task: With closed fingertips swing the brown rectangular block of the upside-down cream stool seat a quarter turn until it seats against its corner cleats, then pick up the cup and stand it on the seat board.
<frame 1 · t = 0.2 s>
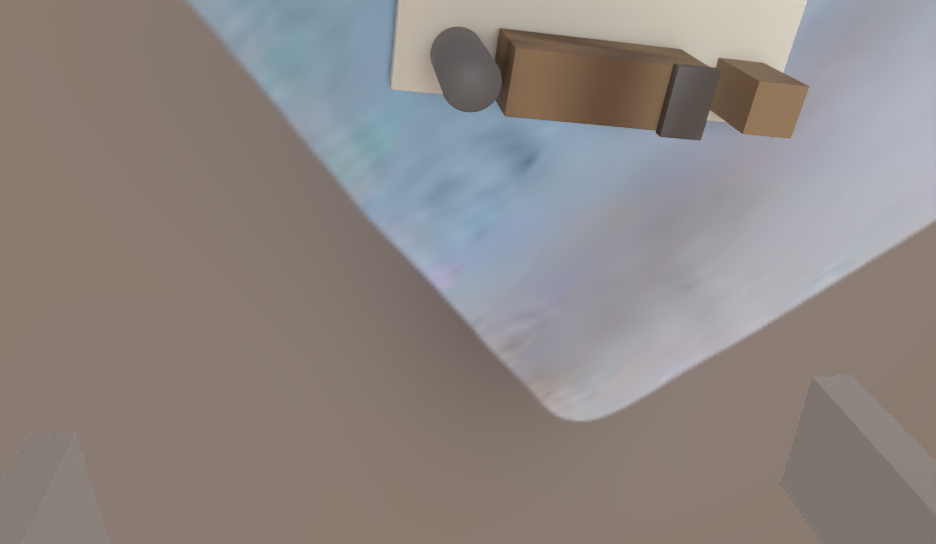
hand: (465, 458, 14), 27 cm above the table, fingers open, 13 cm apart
brown rectangular block: (599, 82, 35), point 4 cm above the table, hinge at 0.0°
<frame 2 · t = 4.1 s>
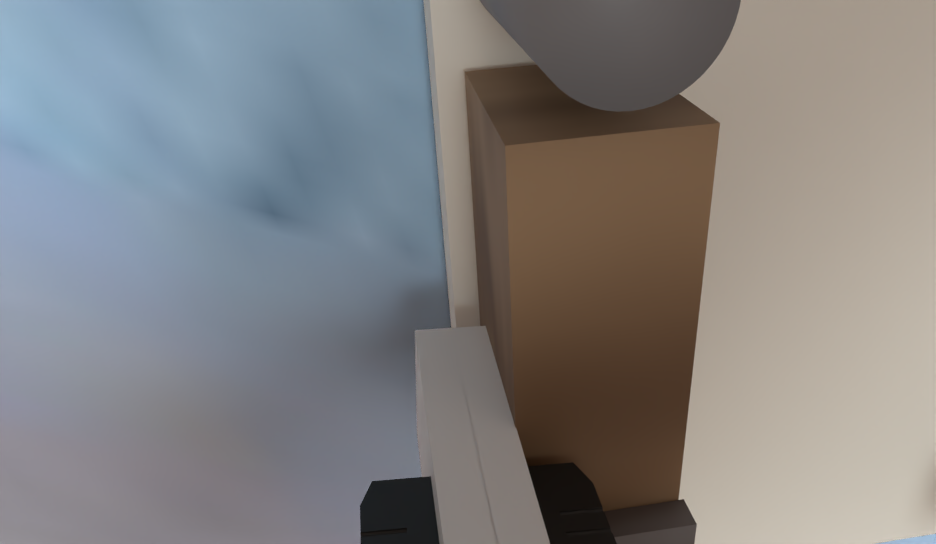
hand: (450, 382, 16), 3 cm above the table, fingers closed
brown rectangular block: (576, 342, 14), point 4 cm above the table, hinge at 0.0°, touching gripper
seat board: (790, 234, 18), on the table
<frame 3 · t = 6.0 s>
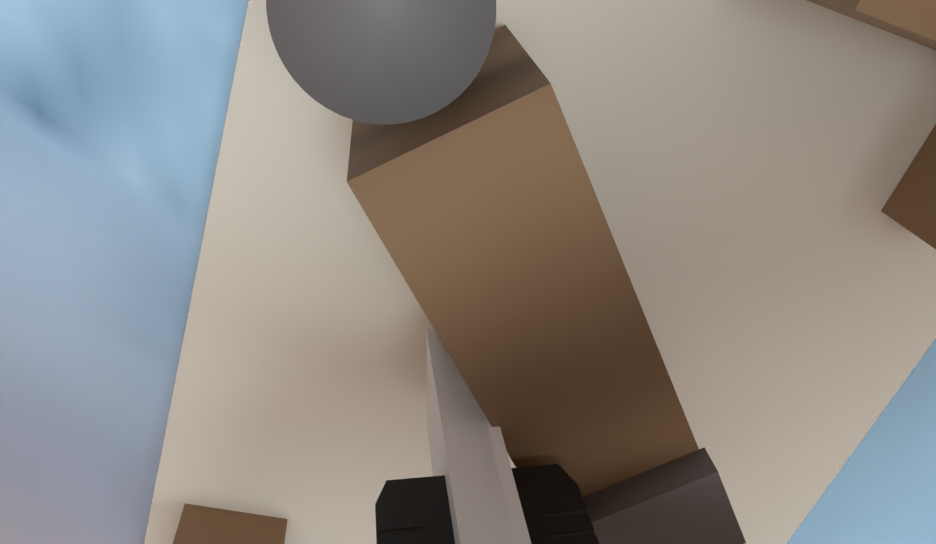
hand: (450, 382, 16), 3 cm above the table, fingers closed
brown rectangular block: (548, 322, 14), point 4 cm above the table, hinge at 43.5°, touching gripper
seat board: (558, 328, 19), on the table
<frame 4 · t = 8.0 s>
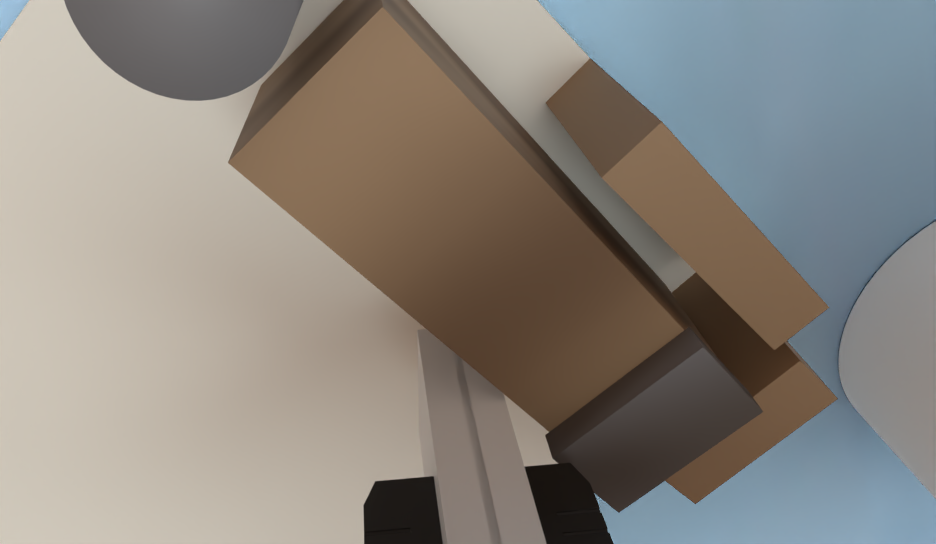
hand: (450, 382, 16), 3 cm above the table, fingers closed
brown rectangular block: (503, 245, 13), point 4 cm above the table, hinge at 86.8°, touching gripper
seat board: (290, 351, 19), on the table
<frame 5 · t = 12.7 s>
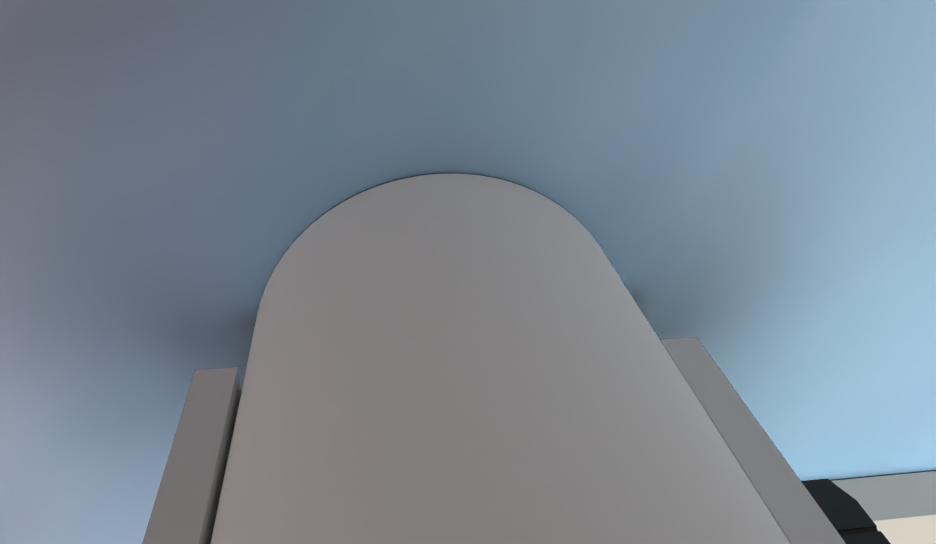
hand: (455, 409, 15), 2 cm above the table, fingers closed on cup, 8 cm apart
cup: (442, 338, 17), on the table, touching gripper
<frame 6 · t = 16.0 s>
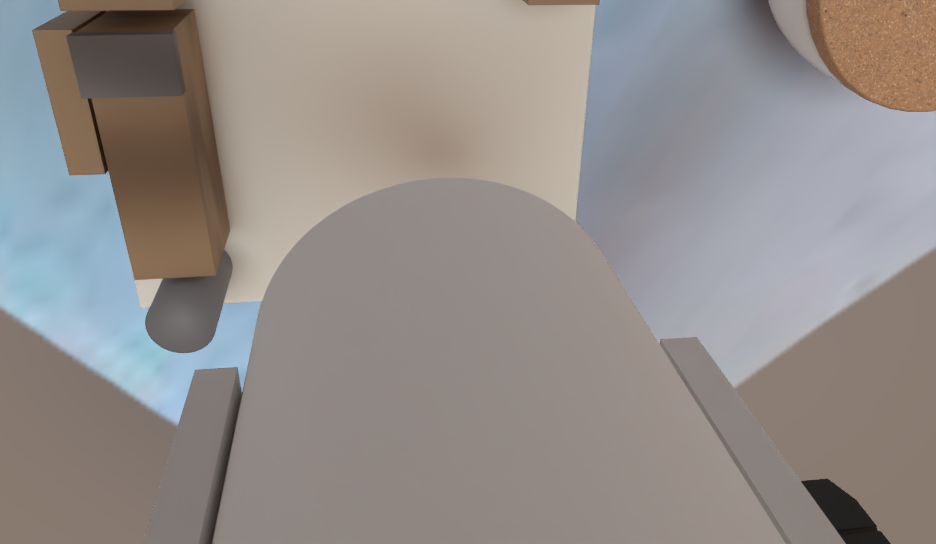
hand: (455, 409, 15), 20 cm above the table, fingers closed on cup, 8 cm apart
brown rectangular block: (162, 148, 28), point 4 cm above the table, hinge at 90.5°
cup: (442, 342, 17), point 18 cm above the table, touching gripper
seat board: (352, 109, 32), on the table
when the fingers open (5 cm above the table, at t = 19.1 s): cup drops 1 cm, resting on seat board.
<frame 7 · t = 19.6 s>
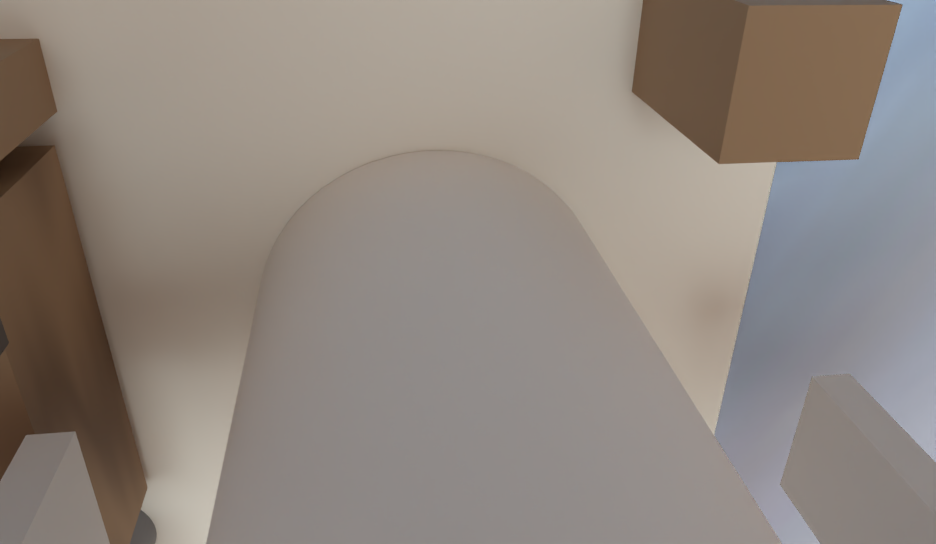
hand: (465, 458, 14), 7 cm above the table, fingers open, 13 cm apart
cup: (432, 306, 18), point 1 cm above the table, touching seat board
seat board: (353, 283, 19), on the table
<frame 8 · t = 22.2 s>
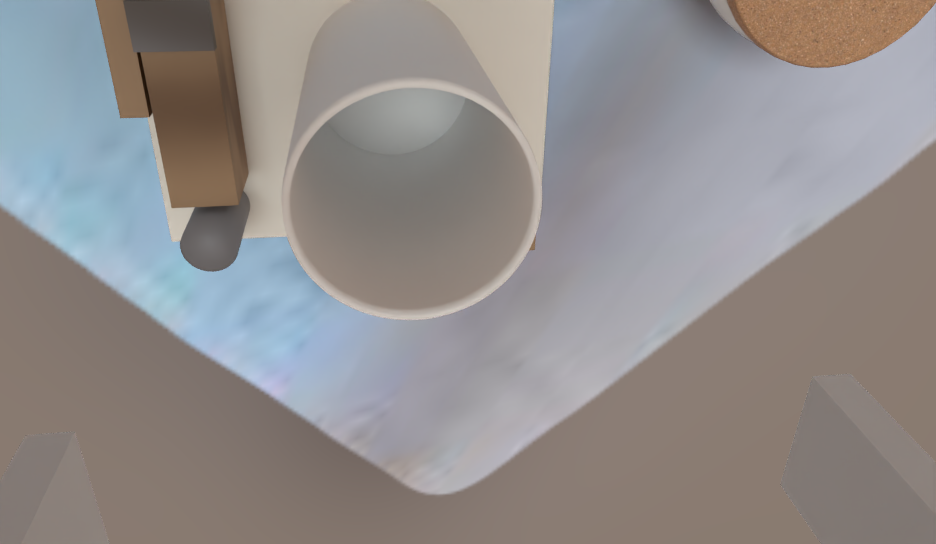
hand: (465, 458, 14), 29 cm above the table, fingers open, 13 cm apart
brown rectangular block: (195, 98, 34), point 4 cm above the table, hinge at 90.5°
cup: (390, 77, 37), point 1 cm above the table, touching seat board
seat board: (351, 71, 38), on the table
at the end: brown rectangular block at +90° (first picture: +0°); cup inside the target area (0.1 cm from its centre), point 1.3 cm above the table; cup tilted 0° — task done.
